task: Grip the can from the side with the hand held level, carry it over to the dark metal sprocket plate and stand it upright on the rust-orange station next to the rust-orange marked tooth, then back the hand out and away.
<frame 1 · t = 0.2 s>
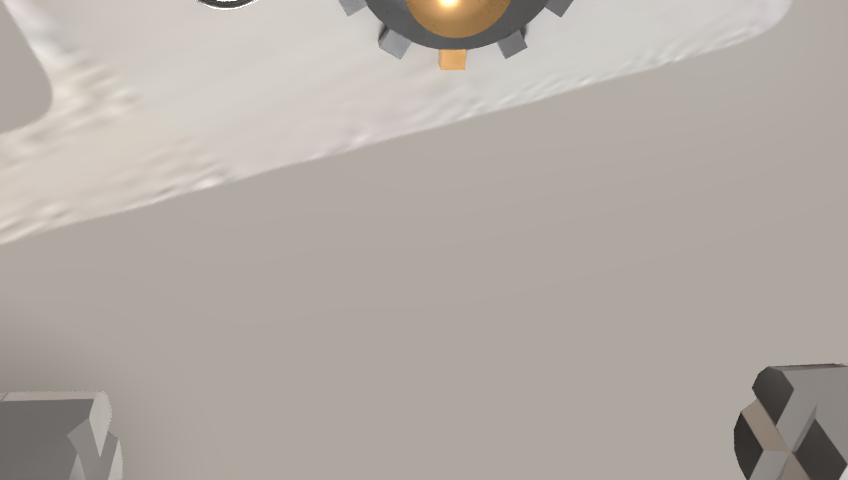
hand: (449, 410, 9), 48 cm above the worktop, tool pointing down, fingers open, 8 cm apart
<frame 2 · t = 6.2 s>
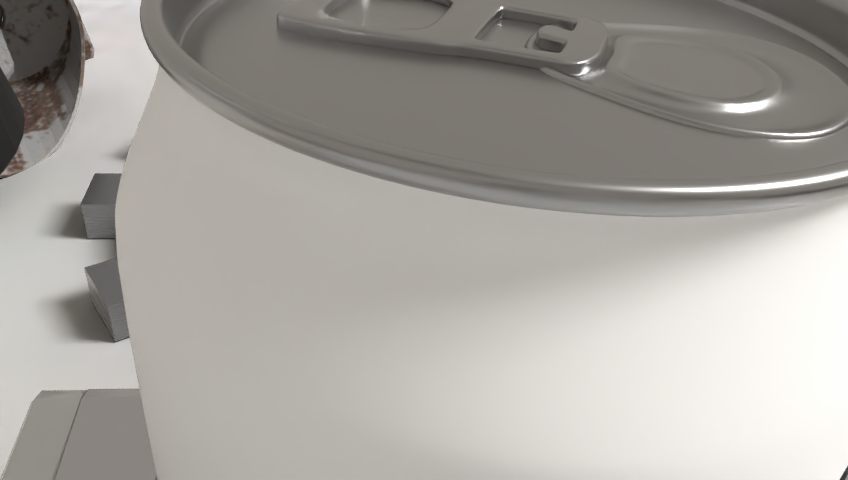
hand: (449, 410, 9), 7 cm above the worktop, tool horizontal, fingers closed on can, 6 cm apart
sprocket plate: (398, 219, 25), on the worktop
when the fingers open (10 cm above the worktop, at t = 10.5 s): can stays where it is, resting on sprocket plate.
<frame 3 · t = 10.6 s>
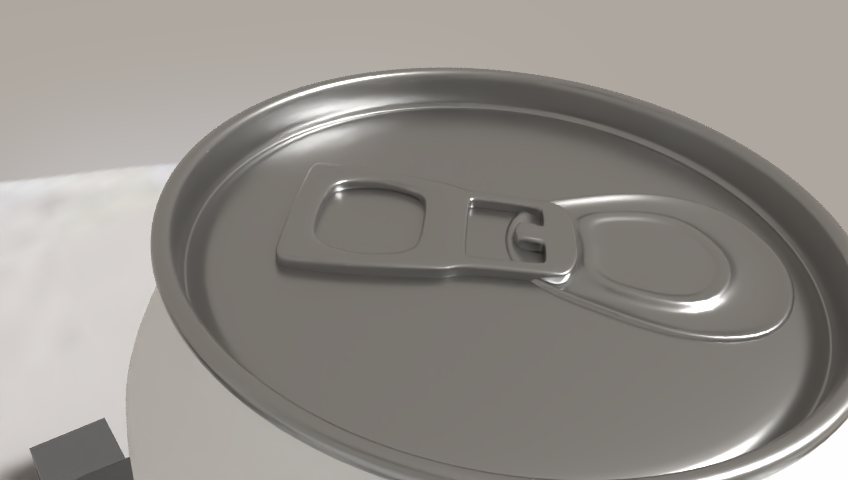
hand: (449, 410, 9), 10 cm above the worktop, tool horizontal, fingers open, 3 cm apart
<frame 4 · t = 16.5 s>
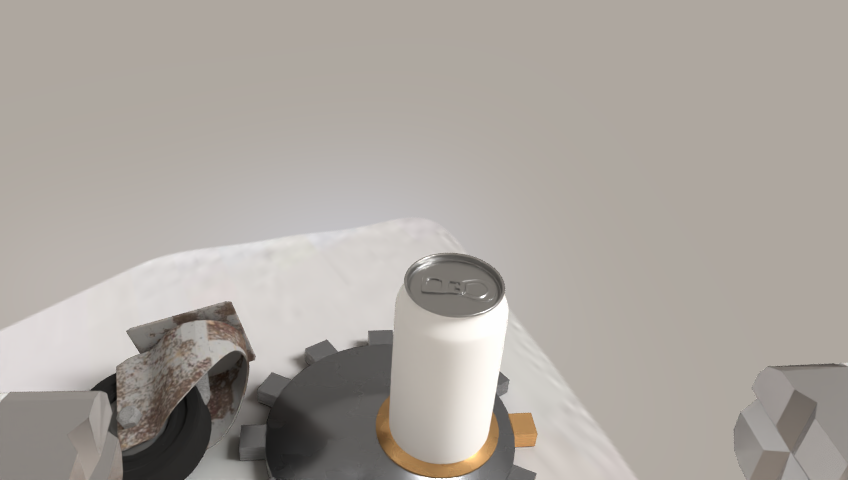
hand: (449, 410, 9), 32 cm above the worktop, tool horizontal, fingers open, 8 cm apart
caster wheel: (171, 442, 48), on the worktop
can: (438, 429, 49), point 1 cm above the worktop, touching sprocket plate
sprocket plate: (390, 442, 49), on the worktop
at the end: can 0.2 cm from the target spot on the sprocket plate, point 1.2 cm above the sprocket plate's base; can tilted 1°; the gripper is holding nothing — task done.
